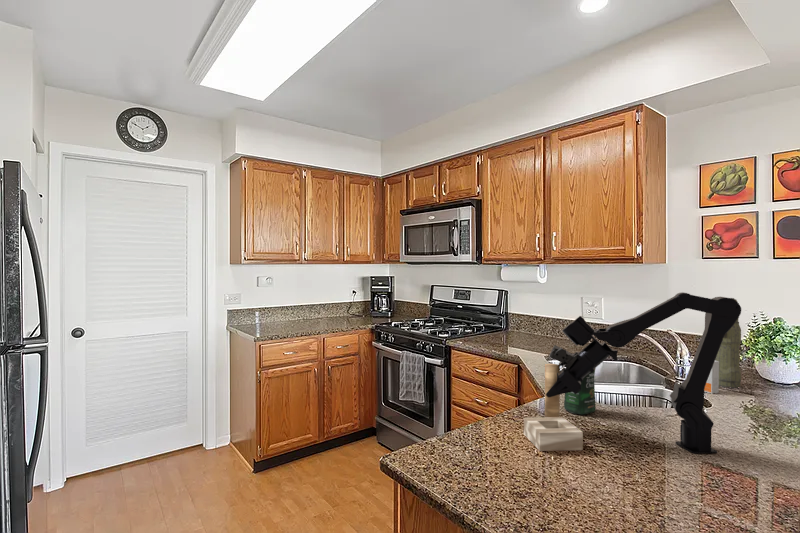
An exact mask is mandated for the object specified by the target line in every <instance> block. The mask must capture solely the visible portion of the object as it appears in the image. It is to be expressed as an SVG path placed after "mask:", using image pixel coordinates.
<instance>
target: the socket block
mask: <svg viewBox="0 0 800 533" xmlns="http://www.w3.org/2000/svg"><path fill="white" fill-rule="evenodd" d="M523 435H524V436H525V437H526V438H527V439H528V440H529V441H530V443H531V444H532V445H533V446H535V448H537V450H539V451H540V452H543V451H544V452H545V451H546V452H552V451H557V452H558V451H560V452H561V451H584V450H583V449H584V448H583V446H584V444H583V443H584V441H583V440H584V438H583V437H584V436H583V435H584V433H583V430H580V429H579V428H578V427H577V426H575V424H573V423H571V422H570V421H569V420H568V419H566V418H565V417H563V416H560V417H545V416H544V417H538V416H537V417H523Z"/></svg>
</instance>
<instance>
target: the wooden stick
mask: <svg viewBox="0 0 800 533" xmlns="http://www.w3.org/2000/svg"><path fill="white" fill-rule="evenodd" d="M560 368H561V366H560V365H559V363H558V364H557V363H545V364H544V417H561V415H560V414H561V413H560V412H561V409H560V408H561V407H560V405H561V403H560V402H561V400H560V398H561V394H560V395H556V396H552V397H547V396H546V393H547V392H548V391H549V389H550V388H551V387H552V386H553V384H554V383H555V382H556V381H557V372H558V373H559V372H560Z"/></svg>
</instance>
